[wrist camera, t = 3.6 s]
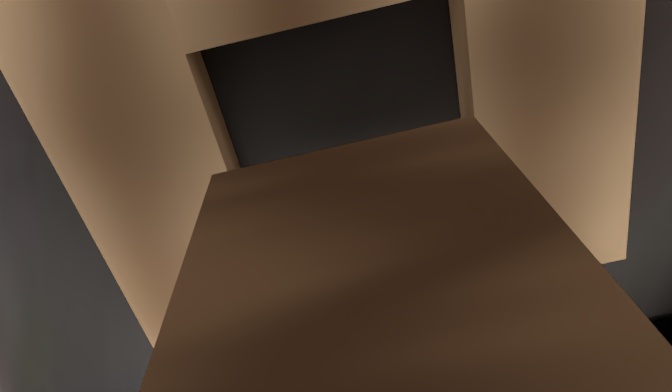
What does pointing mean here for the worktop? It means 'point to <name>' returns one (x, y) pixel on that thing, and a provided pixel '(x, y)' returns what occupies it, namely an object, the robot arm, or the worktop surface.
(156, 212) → the pocket board
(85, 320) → the worktop surface
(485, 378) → the walnut block
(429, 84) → the worktop surface
